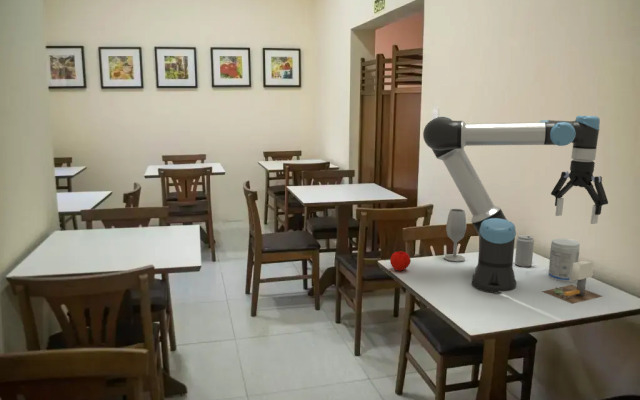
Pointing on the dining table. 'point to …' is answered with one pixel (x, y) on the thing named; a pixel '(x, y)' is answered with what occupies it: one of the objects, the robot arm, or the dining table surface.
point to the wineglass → (456, 231)
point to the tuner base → (573, 298)
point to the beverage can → (524, 250)
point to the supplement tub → (563, 259)
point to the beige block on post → (581, 276)
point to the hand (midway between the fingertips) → (575, 219)
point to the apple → (400, 260)
